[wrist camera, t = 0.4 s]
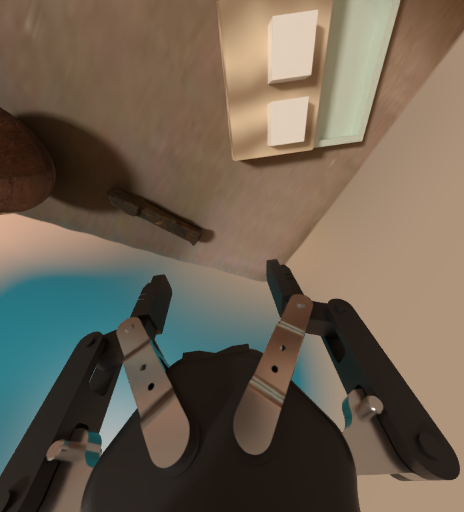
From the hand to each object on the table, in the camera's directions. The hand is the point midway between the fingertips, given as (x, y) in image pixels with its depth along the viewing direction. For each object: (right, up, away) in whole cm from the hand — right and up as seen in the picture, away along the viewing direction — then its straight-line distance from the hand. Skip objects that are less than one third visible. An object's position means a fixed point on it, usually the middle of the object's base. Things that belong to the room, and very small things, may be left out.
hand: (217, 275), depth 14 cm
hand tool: (-15, +10, +24) cm, 30 cm away
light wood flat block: (+7, +28, +13) cm, 32 cm away
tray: (+18, +30, +13) cm, 38 cm away
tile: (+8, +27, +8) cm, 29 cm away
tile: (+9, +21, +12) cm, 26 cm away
